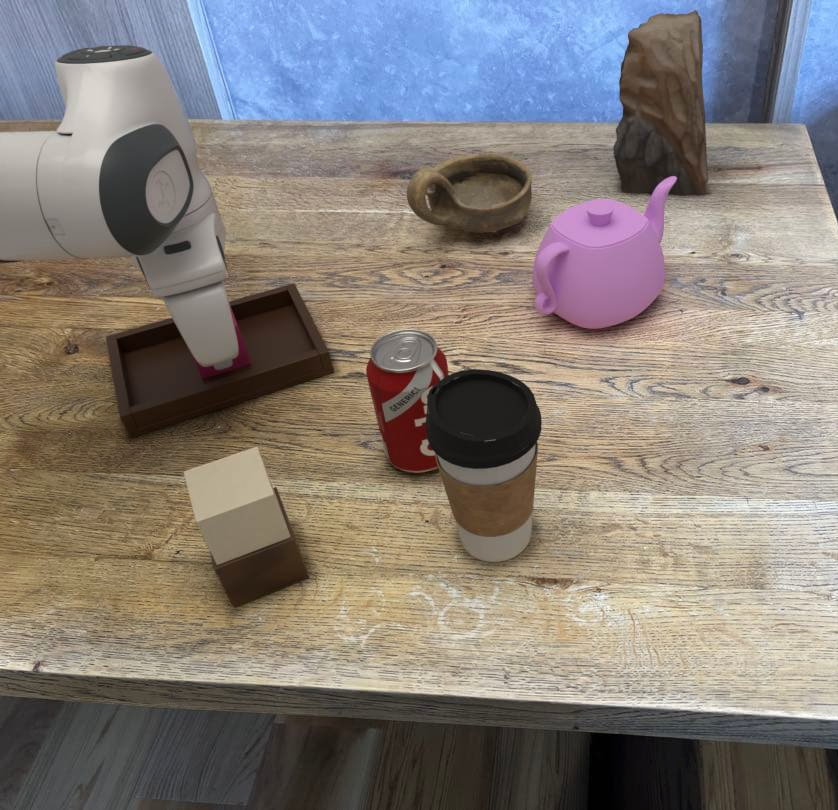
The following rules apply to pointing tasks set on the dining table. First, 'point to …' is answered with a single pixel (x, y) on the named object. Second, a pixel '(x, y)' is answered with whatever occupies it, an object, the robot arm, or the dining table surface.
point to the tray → (193, 396)
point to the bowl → (472, 192)
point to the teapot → (602, 261)
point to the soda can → (405, 394)
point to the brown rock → (663, 107)
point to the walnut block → (263, 569)
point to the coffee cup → (486, 458)
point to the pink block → (237, 362)
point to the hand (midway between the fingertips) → (217, 347)
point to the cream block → (235, 505)
